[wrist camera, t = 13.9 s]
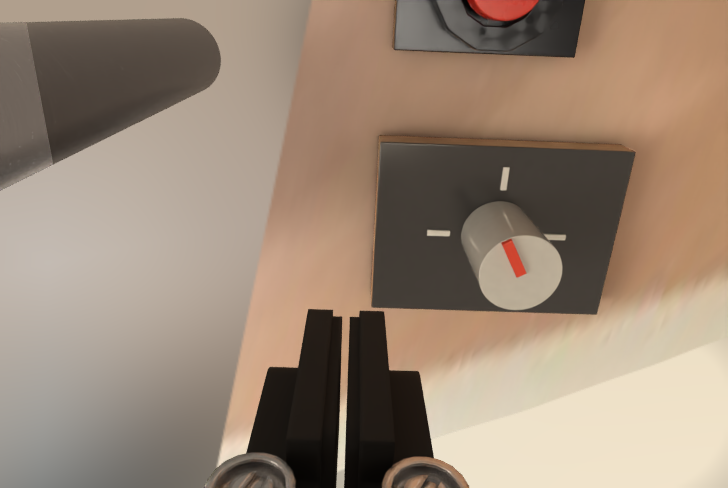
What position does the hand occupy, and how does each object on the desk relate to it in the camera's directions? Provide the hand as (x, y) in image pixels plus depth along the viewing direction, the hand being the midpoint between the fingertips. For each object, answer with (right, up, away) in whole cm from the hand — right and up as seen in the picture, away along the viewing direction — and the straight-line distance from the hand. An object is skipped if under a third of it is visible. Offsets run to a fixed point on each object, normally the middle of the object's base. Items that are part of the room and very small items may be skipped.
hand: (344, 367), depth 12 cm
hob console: (+9, +4, +23) cm, 25 cm away
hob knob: (+9, +3, +22) cm, 23 cm away
